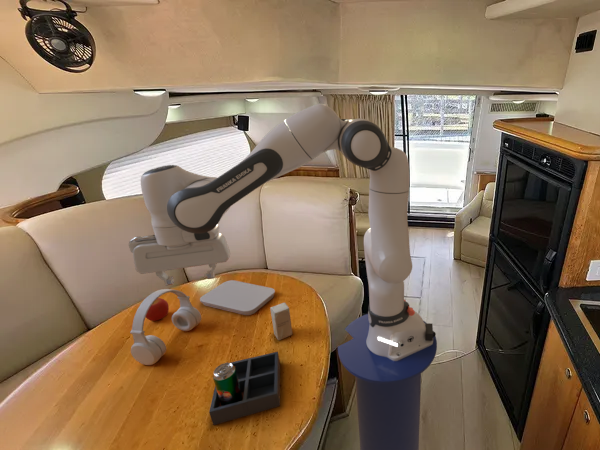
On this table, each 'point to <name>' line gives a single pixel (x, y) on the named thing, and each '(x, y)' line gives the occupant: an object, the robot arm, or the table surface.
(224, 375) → the soda can
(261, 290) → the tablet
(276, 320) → the box
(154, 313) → the apple
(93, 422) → the table surface
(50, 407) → the table surface
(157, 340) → the headphones
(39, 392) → the table surface
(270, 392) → the grid
